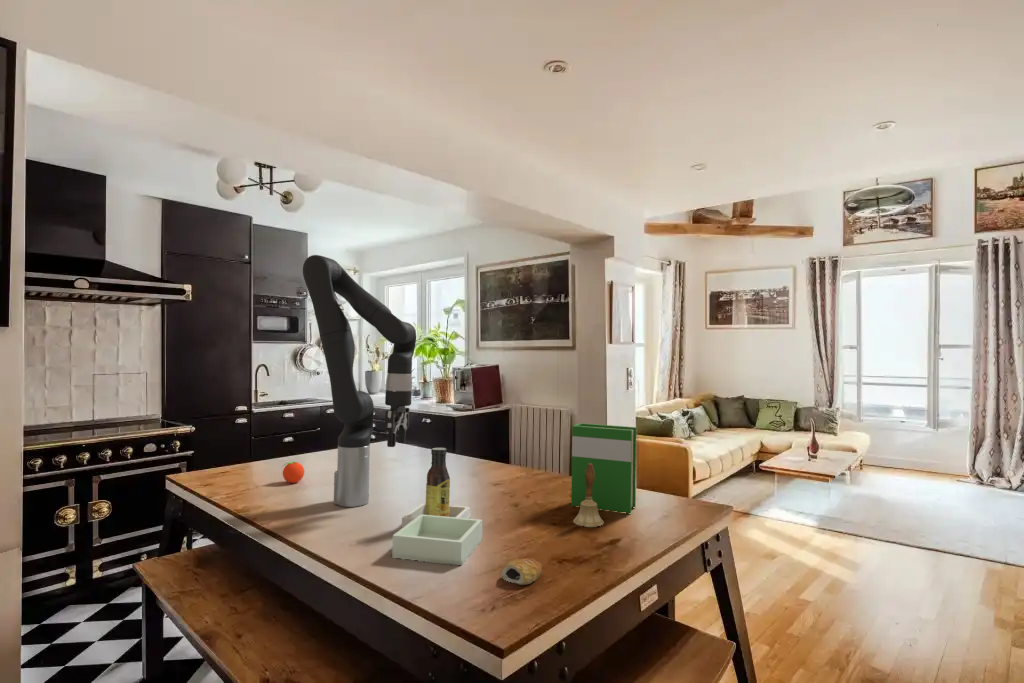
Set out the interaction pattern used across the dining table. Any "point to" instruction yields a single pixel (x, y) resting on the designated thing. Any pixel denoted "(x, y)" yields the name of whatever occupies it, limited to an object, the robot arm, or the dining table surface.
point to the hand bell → (588, 504)
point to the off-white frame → (421, 509)
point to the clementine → (293, 472)
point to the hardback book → (605, 465)
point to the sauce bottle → (438, 485)
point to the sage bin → (438, 539)
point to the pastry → (522, 571)
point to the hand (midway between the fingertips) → (396, 444)
